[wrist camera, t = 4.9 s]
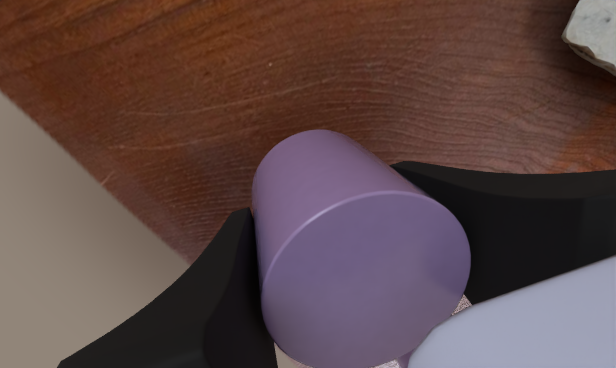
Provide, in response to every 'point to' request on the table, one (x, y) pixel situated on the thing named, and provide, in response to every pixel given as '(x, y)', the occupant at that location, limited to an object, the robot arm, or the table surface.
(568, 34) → the rock
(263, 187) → the lavender cylinder post
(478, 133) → the table surface
